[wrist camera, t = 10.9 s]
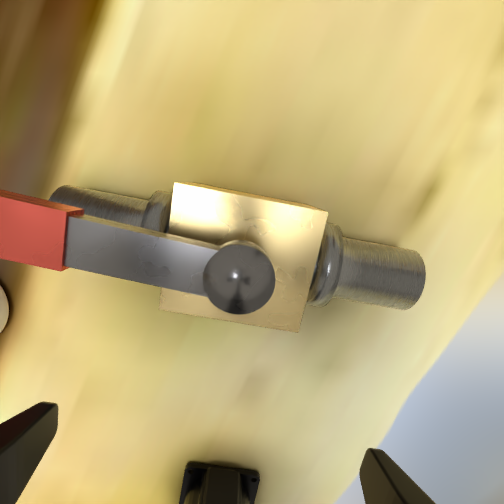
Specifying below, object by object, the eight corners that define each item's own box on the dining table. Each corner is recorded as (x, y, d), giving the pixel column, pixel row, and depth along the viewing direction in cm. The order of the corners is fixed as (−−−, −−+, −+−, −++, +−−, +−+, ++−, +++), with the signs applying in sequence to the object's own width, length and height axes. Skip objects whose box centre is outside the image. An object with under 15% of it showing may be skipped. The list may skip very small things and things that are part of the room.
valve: (372, 309, 22) (429, 367, 15) (86, 260, 21) (6, 299, 14) (399, 222, 21) (477, 242, 14) (92, 162, 19) (4, 151, 12)
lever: (280, 248, 13) (284, 255, 12) (263, 309, 14) (265, 321, 13) (-32, 175, 12) (-64, 174, 11) (-33, 245, 13) (-62, 251, 12)
